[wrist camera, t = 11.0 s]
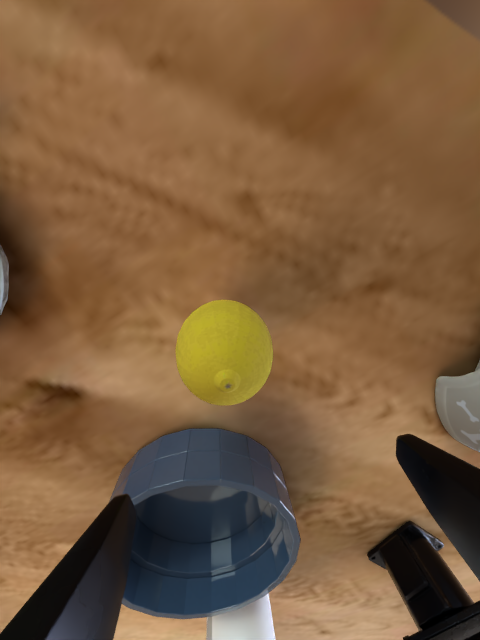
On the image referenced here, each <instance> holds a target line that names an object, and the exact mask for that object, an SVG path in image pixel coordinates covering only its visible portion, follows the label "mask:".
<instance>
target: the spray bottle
mask: <svg viewBox="0 0 480 640" xmlns="http://www.w3.org/2000/svg"><path fill="white" fill-rule="evenodd" d="M206 640H275V634H274V627H273V620H272V613H271V607H270V600H269V593H268V594H267V595H265V596H264V597H262V598H260V599H258V600H256V601H254V602H252V603H250V604H248V605H246V606H244V607H242V608H239V609H237V610H234V611H230V612H227V613H223V614H219V615H216V616H212V617H207V637H206Z"/></svg>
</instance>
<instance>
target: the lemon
mask: <svg viewBox="0 0 480 640" xmlns="http://www.w3.org/2000/svg"><path fill="white" fill-rule="evenodd" d="M272 359H273V348H272V340H271V336H270V334H269V331H268V329H267V327H266V324H265V323H264V322H263V320H262V319H261V318H260V316H259V315H258V314H257V313H256V312H255V311H253V310H252V309H251V308H249V307H248V306H246V305H244V304H241V303H239V302H237V301H230V300H217V301H212V302H209V303H207V304H204V305H202V306H201V307H199V308H198V309H196V310H195V311H193V312H192V313H191V315H190V316H189V317H188V318H187V319H186V320H185V322H184V323H183V326H182V328H181V330H180V332H179V334H178V338H177V344H176V361H177V368H178V371H179V373H180V376H181V378H182V380H183V382H184V384H185V385H186V386H187V388H188V389H189V390H190V391H191V392H192V393H193V394H194V395H196V396H197V397H198V398H200V399H201V400H203V401H206V402H208V403H210V404H215V405H233V404H238V403H241V402H243V401H245V400H247V399H249V398H251V397H252V396H253V395H254V394H256V393H257V392H258V391H259V390H260V389H261V387H262V386H263V385H264V384H265V382H266V380H267V378H268V375H269V373H270V371H271V366H272Z"/></svg>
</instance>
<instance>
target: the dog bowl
mask: <svg viewBox="0 0 480 640" xmlns="http://www.w3.org/2000/svg"><path fill="white" fill-rule="evenodd" d="M435 403H436V408H437V412H438V415H439V418H440V420H441V422H442V424H443V426H444V428H445V429H446V430H447V432H448V433H449V434H450V435H451V436H452V437H453V438H454V439H456V440H457V441H459V442H460V443H462V444H464V445H466V446H467V447H469V448H471V449H474V450H476V451H478V452H480V360H479V362H478V364H477V367H476V369H475V372H471V373H469V374H466V375H463V376H458V377H448V376H440V377H439V378H437V380H436V388H435Z"/></svg>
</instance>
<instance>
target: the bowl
mask: <svg viewBox="0 0 480 640" xmlns="http://www.w3.org/2000/svg"><path fill="white" fill-rule="evenodd" d="M122 494H129V495H130V497H131V500H132V502H133V504H134V507H135V509H136V513H137V519H136V526H135V532H134V539H133V545H132V552H131V558H130V565H129V571H128V577H127V582H126V587H125V591H124V596H123V600H122V604H123V605H125V606H126V607H128V608H130V609H133V610H136V611H139V612H143V613H146V614H149V615H152V616H156V617H166V618H176V619H191V618H203V617H212V616H216V615H219V614H223V613H227V612H230V611H234V610H237V609H239V608H242V607H244V606H246V605H248V604H250V603H252V602H254V601H256V600H258V599H260V598H262V597H264V596H265V595H267V594H268V593H269V592H270V591H271V590H273V589H274V588H275V587H276V586H277V585H279V584H280V583H281V582H282V581H283V580H284V579H285V578H286V576H287V575H288V573H289V572H290V570H291V569H292V567H293V565H294V564H295V562H296V560H297V555H298V550H299V546H300V541H301V539H300V535H299V531H298V527H297V523H296V519H295V516H294V512H293V509H292V505H291V502H290V498H289V495H288V491H287V488H286V484H285V481H284V477H283V474H282V470H281V467H280V465H279V463H278V462H277V461H276V459H275V458H274V457H273V456H272V454H271V453H270V452H269V450H268V449H267V448H266V447H264V446H263V445H261V444H259V443H258V442H256V441H255V440H253V439H251V438H250V437H248V436H246V435H243V434H239V433H235V432H231V431H228V430H224V429H219V428H207V429H187V430H183V431H179V432H175V433H172V434H168V435H164V436H163V437H160V438H159V439H157V440H155V441H154V442H152V443H150V444H149V445H147V446H145V447H143V448H142V449H140V450H139V451H138V452H137V453H136V454H135V455H134V456H133V457H132V459H131V460H130V461H129V462H128V463H127V464H126V465H125V467H124V468H123V469H122V471H121V474H120V476H119V479H118V481H117V484H116V486H115V488H114V491H113V493H112V496H111V498H110V501H111V500H112V499H113V498H114V497H115V496H117V495H122ZM110 501H109V502H110Z"/></svg>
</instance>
